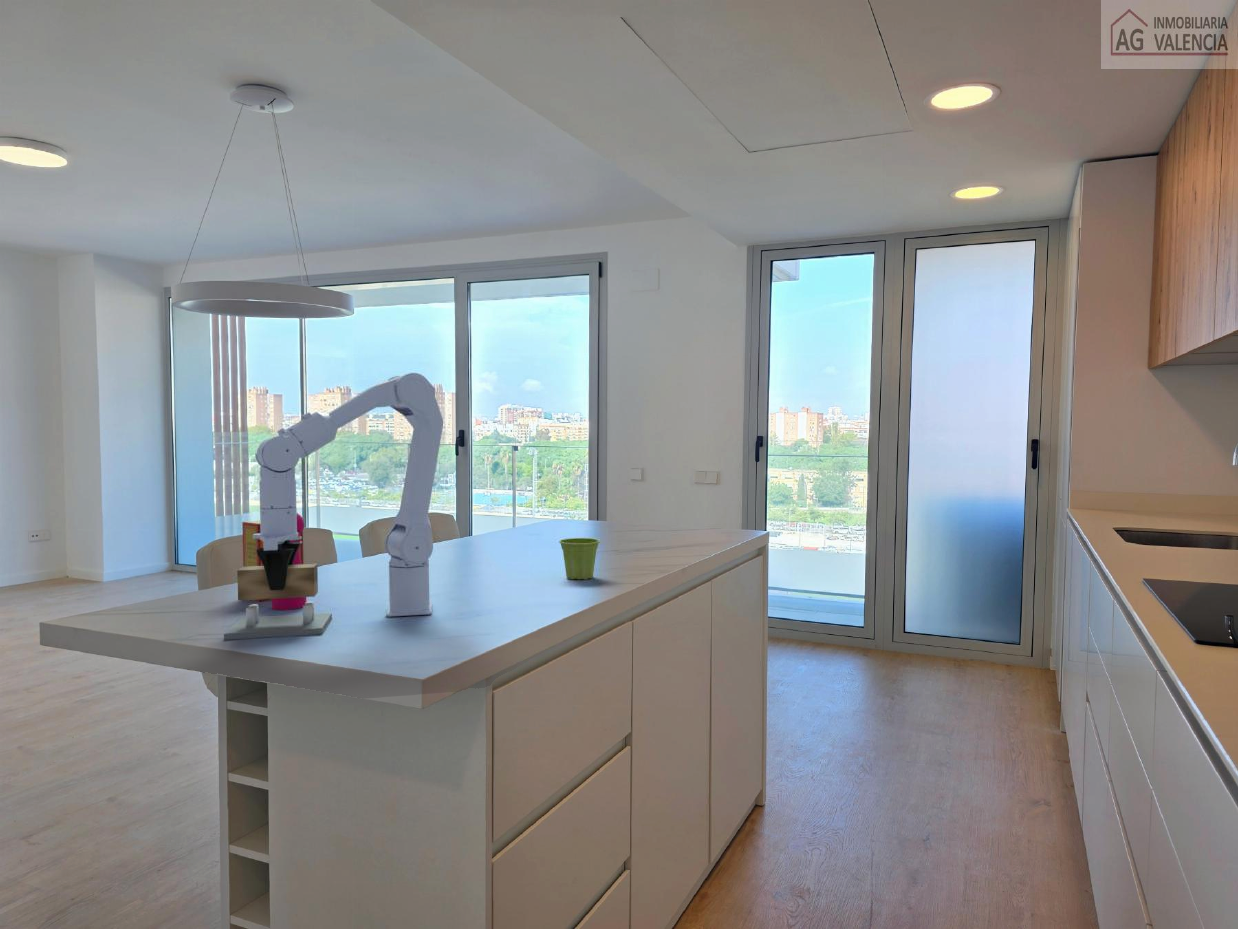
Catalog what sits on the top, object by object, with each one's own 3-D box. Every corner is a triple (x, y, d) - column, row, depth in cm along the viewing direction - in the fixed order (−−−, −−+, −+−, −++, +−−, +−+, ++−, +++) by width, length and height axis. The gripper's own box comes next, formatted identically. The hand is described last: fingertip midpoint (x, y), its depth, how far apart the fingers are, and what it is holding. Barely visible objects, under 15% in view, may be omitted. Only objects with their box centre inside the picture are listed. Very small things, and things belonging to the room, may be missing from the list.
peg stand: (242, 623, 140) (241, 600, 140) (331, 618, 143) (331, 596, 143) (224, 639, 128) (223, 615, 128) (322, 634, 132) (321, 610, 131)
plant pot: (608, 578, 182) (607, 541, 182) (572, 583, 177) (572, 544, 177) (586, 573, 190) (586, 537, 190) (552, 577, 185) (551, 540, 184)
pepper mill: (262, 607, 154) (260, 503, 153) (298, 601, 159) (296, 501, 158) (278, 612, 149) (276, 505, 148) (315, 606, 154) (313, 503, 153)
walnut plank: (317, 592, 139) (317, 563, 139) (314, 596, 135) (313, 567, 135) (243, 595, 136) (243, 566, 136) (237, 600, 132) (237, 570, 132)
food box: (259, 602, 159) (257, 522, 158) (244, 598, 163) (242, 520, 162) (304, 594, 166) (302, 518, 166) (288, 591, 170) (286, 516, 170)
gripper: (262, 505, 141) (264, 581, 142) (242, 512, 127) (244, 596, 128) (304, 504, 143) (306, 579, 143) (289, 510, 129) (291, 594, 129)
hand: (279, 587), depth 136 cm, fingers closed on walnut plank, 4 cm apart
